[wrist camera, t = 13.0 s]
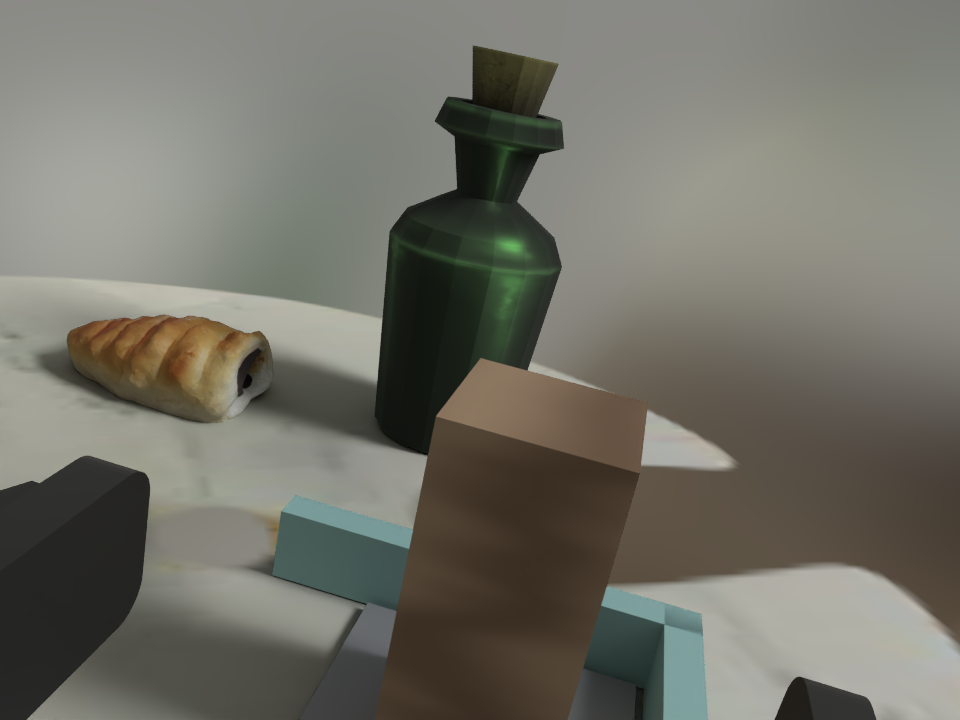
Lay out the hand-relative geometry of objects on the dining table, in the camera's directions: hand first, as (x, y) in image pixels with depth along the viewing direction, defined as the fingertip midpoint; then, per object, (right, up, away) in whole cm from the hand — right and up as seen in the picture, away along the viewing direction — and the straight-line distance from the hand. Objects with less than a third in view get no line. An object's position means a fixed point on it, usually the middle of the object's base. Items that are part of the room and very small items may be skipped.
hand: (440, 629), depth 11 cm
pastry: (-14, +2, +32) cm, 35 cm away
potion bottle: (-2, 0, +33) cm, 33 cm away
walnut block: (0, -7, +14) cm, 15 cm away
